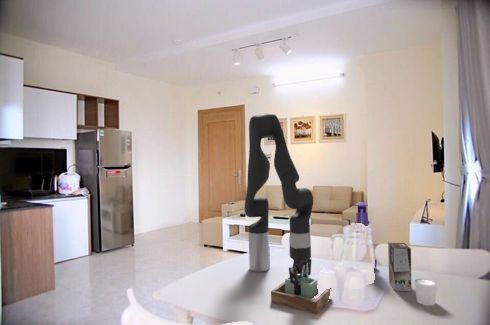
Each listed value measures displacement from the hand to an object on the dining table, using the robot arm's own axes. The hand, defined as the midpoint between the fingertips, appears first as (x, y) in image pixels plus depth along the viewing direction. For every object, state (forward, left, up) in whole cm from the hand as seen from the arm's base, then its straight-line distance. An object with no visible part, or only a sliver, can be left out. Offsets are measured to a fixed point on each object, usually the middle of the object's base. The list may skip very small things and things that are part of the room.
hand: (301, 291), depth 119 cm
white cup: (-21, +37, -4) cm, 43 cm away
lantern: (-46, +9, -4) cm, 47 cm away
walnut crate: (0, 0, -3) cm, 3 cm away
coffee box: (-31, +27, -4) cm, 41 cm away
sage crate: (0, 0, -1) cm, 1 cm away
